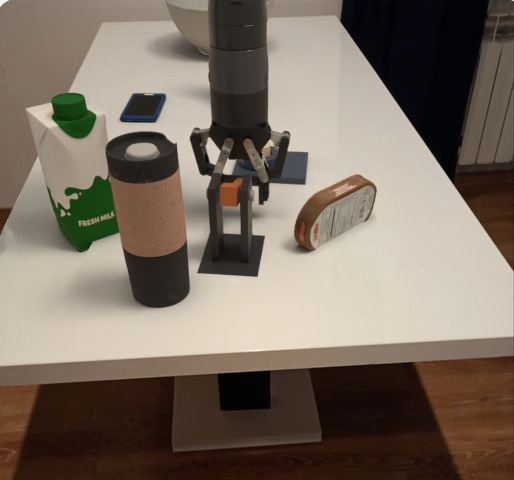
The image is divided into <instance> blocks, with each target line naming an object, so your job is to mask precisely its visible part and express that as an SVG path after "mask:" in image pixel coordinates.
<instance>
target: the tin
mask: <svg viewBox="0 0 514 480" xmlns="http://www.w3.org/2000/svg"><path fill="white" fill-rule="evenodd" d="M377 193H378V189H377V186H376V184H375V183H374V182H373V181H371V180H369V179H368V178H365V177H364V176H363V175H361V174H352V175H350V176H348V177H346V178H344V179H342V180H340V181H338V182H336V183H333V184H331V185H330V186H327V187H325V188H323V189H321V190H319V191H317V192H314V193H313V194H312V195H311V196H310V197H309V198H308V199H307V200H306V201H305V203H304V204H303V205H302V207H301V209H300V211H299V213H298V214H297V217H296V220H295V223H294V227H293V228H294V229H293V236H294V240H295V242H296V243H297V244H298V245H300V246H302V247H304V248H305V249H307V250H308V251H311V252H314V251H316V250H317V249H319V248H320V247H321V246H323V245H324V244H326V243H329V242H331V241H332V240H334V239H335V238H337V237H339V236H342V235H343V234H344V233H346V232H348V231H350V230H352V229H354V227H357V226H358V225H360V224H363V223H365V222H367V221H368V220H369V218H370V216H371V215H372V212H373V210H374V206H375V203H376V198H377Z"/></svg>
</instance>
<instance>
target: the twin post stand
mask: <svg viewBox="0 0 514 480" xmlns="http://www.w3.org/2000/svg"><path fill="white" fill-rule="evenodd" d="M220 186H221V173H213V174H212V177H210V180H209V183H208V186H207V187H206V190H205V197H206V198H205V199H206V200H207V205H208V206H207V207H208V222H209V234H208V237H207V240H206V243H205V246H204V251H203V252H202V256H201V260H200V263H199V266H198V269H197V272H196V273H197V274H205V275H219V276H220V275H221V276H235V277H236V276H237V277H249V278H250V277H251V278H258V277H259V271H260V266H261V261H262V255H263V250H264V245H265V240H266V239H265V238H266V236H265V235H264V234H263V235H261V234H253V202H254V201H255V190H254V189H253V186H252V175H251V174H244V177H243V180H242V184H241V188H240V203H239V211H240V212H239V219H240V222H239V223H240V225H239V226H240V233H229V232H228V233H226V232H224V218H223V217H224V214H223V206H220Z"/></svg>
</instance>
